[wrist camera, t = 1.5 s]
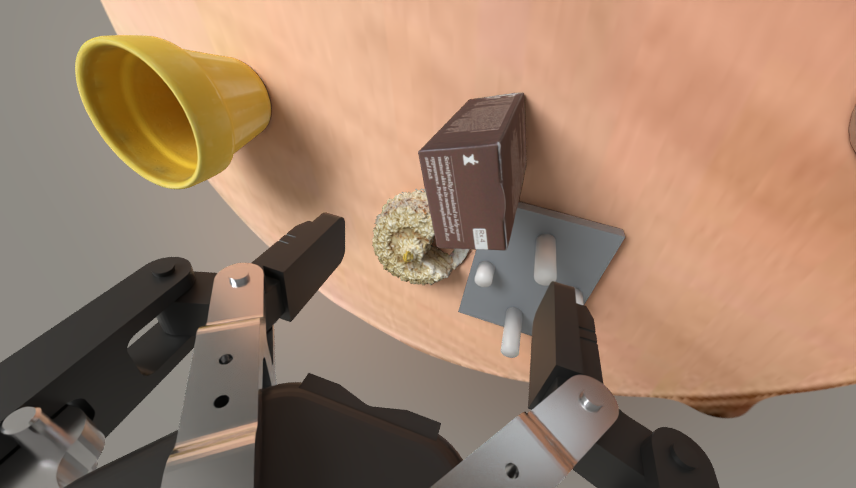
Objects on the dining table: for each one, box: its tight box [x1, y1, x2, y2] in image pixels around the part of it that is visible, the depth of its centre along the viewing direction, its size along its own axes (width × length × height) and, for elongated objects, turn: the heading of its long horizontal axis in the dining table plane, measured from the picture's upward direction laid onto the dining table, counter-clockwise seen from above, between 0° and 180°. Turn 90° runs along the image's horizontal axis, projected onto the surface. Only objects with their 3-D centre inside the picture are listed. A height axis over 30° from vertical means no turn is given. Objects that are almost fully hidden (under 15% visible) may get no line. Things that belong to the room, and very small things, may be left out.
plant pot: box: [75, 35, 271, 189], centre depth 28 cm, size 10×10×10 cm
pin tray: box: [458, 202, 625, 358], centre depth 30 cm, size 11×14×6 cm
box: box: [418, 93, 526, 251], centre depth 22 cm, size 6×4×12 cm
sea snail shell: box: [372, 189, 469, 285], centre depth 32 cm, size 10×10×5 cm
